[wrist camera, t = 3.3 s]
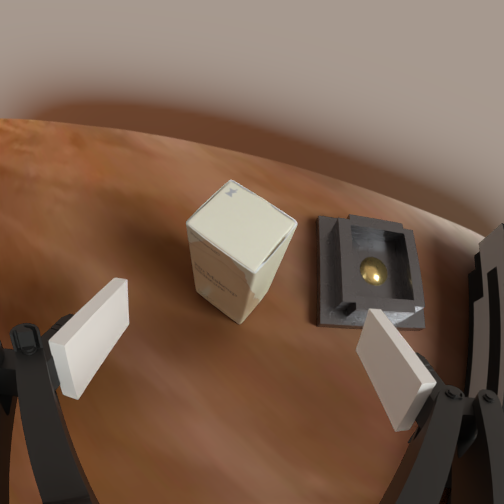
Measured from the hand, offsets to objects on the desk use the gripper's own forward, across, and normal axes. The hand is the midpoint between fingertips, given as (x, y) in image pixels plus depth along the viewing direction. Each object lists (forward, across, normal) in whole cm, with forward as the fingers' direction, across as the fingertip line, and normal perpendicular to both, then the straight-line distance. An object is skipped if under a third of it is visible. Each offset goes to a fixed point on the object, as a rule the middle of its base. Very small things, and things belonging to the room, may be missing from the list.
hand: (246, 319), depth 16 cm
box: (+11, -1, -3) cm, 11 cm away
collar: (+13, +12, -1) cm, 17 cm away
